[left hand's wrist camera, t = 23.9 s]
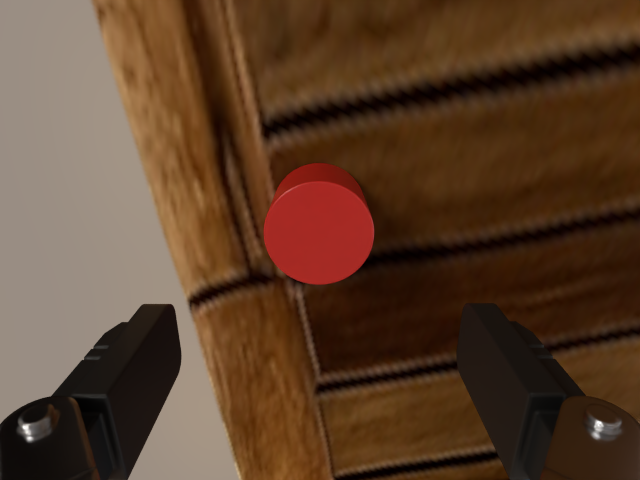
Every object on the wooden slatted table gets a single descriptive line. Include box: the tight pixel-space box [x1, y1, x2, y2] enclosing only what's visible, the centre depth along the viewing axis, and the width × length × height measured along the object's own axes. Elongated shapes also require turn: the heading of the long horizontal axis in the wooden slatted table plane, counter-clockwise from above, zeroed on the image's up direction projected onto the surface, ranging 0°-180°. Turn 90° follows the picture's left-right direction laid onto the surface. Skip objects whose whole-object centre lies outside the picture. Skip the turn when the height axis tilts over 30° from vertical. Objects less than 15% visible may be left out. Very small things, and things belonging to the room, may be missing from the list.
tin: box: [264, 163, 374, 284], centre depth 21 cm, size 5×5×4 cm
